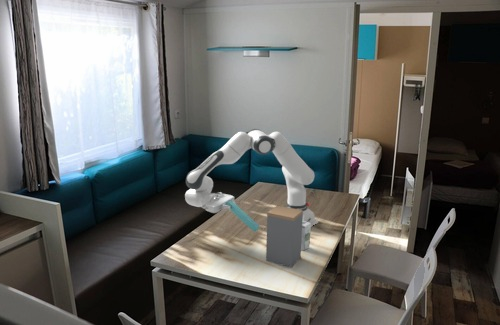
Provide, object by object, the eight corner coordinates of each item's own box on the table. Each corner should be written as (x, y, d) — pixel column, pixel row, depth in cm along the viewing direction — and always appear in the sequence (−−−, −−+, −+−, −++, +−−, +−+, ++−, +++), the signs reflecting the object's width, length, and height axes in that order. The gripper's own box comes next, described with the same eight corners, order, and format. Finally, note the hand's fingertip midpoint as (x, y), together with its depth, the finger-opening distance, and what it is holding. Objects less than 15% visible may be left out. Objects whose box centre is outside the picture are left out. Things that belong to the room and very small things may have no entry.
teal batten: (225, 205, 227) (228, 201, 226) (228, 204, 230) (231, 200, 228) (254, 232, 222) (257, 228, 220) (257, 230, 224) (260, 226, 223)
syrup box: (300, 244, 236) (301, 220, 232) (309, 247, 232) (311, 222, 228) (294, 248, 231) (296, 223, 228) (304, 251, 228) (305, 226, 224)
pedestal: (266, 260, 217) (267, 212, 210) (276, 251, 227) (277, 205, 221) (291, 267, 210) (293, 218, 204) (300, 257, 221) (302, 210, 214)
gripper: (200, 201, 223) (222, 206, 217) (221, 191, 241) (242, 195, 235) (200, 212, 225) (222, 218, 219) (221, 201, 242) (242, 206, 236)
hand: (233, 206), depth 227 cm, fingers closed on teal batten, 3 cm apart
